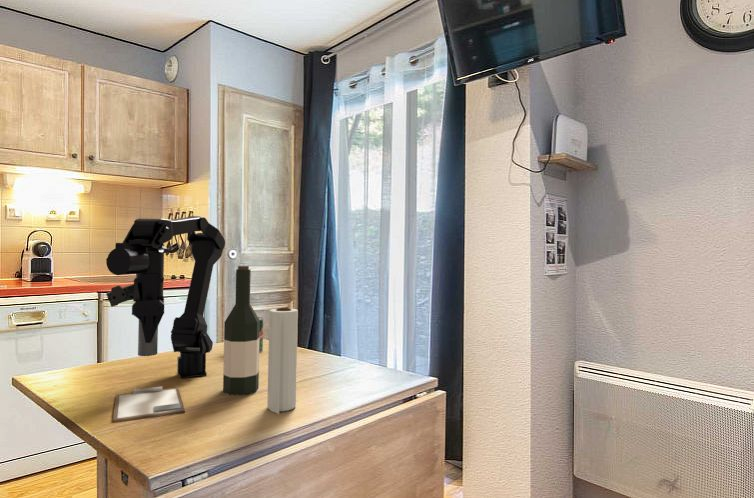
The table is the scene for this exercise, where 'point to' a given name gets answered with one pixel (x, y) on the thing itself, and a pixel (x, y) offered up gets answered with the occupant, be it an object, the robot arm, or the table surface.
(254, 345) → the wine bottle
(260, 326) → the canned tomato
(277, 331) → the paper towel roll
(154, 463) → the table surface
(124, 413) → the clipboard
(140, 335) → the water bottle
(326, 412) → the table surface
